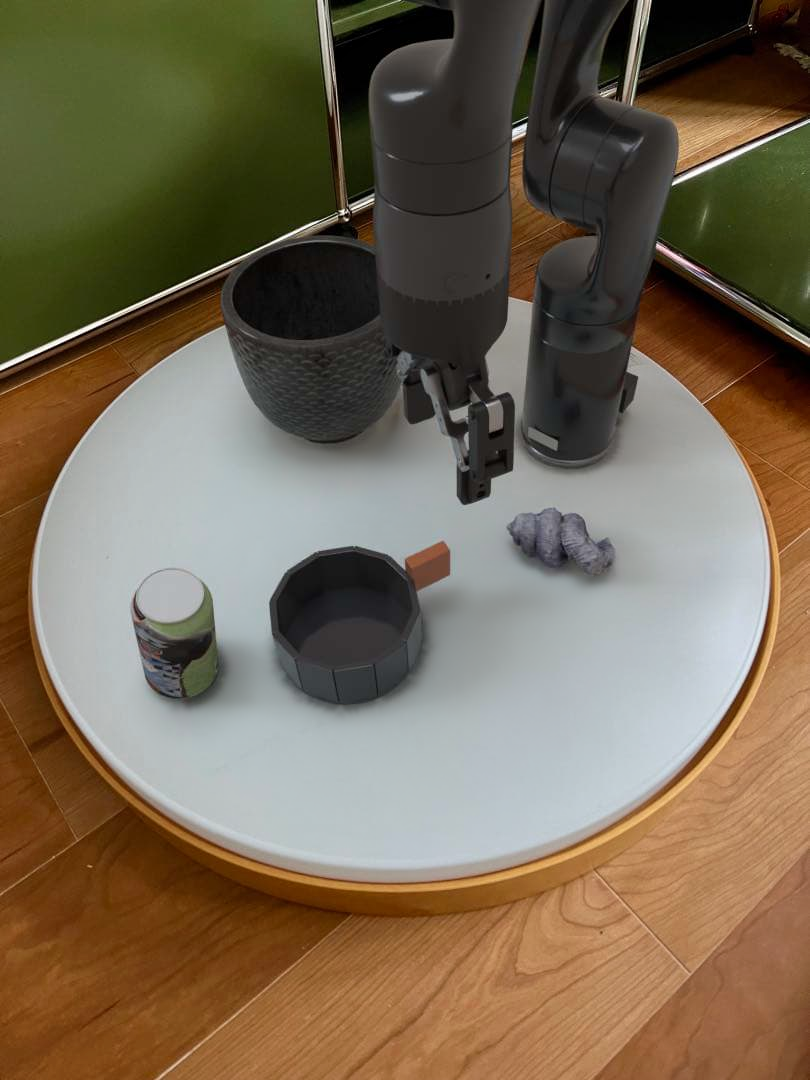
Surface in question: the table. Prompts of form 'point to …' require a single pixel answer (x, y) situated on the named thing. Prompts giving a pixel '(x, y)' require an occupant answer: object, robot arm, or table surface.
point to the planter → (311, 336)
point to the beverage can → (175, 632)
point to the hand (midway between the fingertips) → (445, 456)
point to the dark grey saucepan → (352, 620)
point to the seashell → (560, 540)
